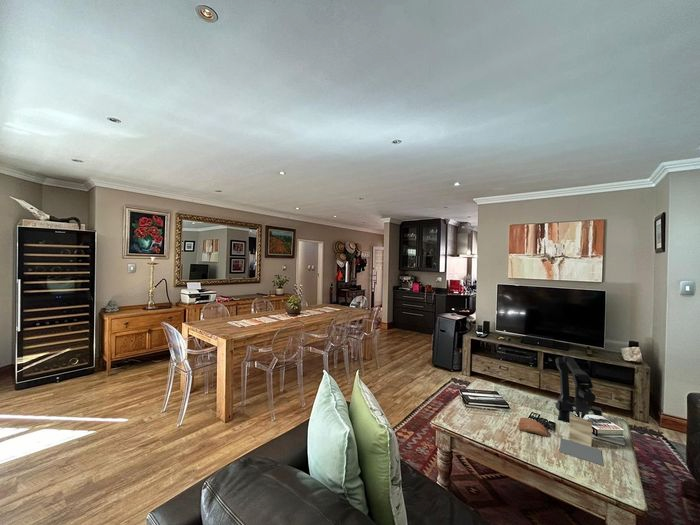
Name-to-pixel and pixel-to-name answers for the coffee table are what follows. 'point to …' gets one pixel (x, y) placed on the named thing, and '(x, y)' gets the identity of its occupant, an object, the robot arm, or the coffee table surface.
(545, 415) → the coffee table surface
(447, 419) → the coffee table surface
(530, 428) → the ceramic shard
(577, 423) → the oak slab
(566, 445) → the mat
